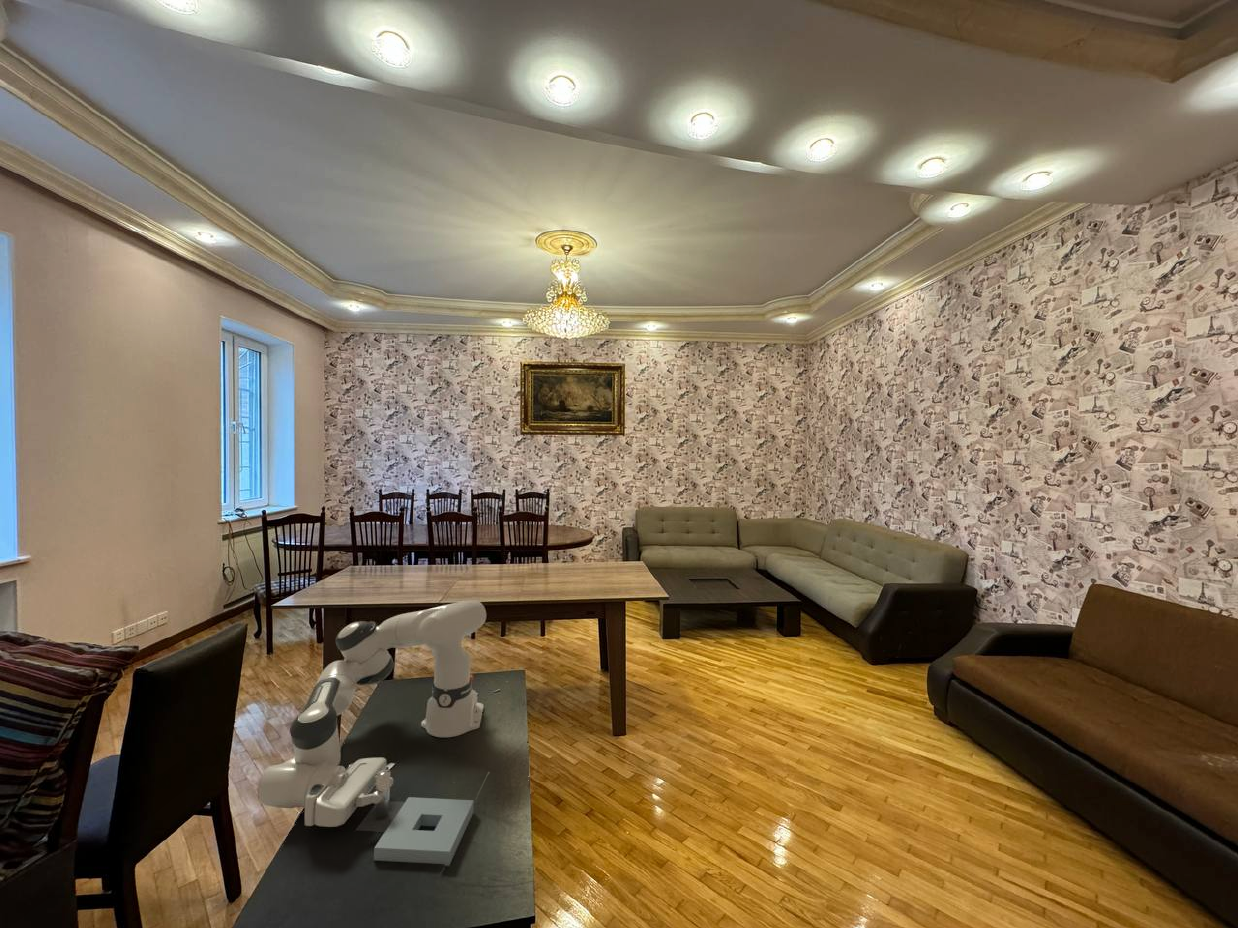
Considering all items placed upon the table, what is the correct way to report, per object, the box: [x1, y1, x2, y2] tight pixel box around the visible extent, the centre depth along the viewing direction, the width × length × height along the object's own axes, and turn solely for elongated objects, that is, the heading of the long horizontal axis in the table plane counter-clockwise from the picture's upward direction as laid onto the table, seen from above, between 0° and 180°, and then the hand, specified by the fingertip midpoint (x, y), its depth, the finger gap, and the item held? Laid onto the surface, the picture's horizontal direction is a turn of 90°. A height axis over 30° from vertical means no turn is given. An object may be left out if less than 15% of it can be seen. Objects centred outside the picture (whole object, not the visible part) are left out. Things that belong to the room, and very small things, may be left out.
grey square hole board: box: [373, 796, 475, 867], centre depth 111 cm, size 16×16×3 cm
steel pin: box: [374, 768, 391, 820], centre depth 116 cm, size 3×3×10 cm
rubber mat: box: [355, 800, 406, 833], centre depth 116 cm, size 10×7×1 cm
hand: (386, 789), depth 116 cm, fingers open, 4 cm apart
